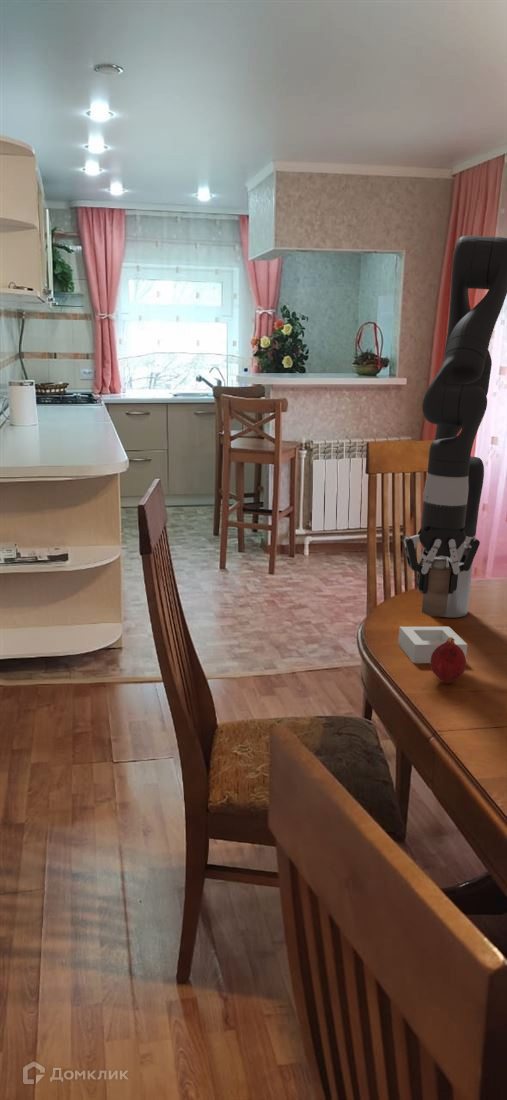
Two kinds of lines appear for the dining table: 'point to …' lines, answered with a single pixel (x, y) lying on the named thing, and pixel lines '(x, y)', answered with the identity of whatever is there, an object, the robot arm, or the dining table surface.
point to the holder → (426, 641)
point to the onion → (448, 661)
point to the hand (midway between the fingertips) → (436, 592)
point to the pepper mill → (437, 588)
